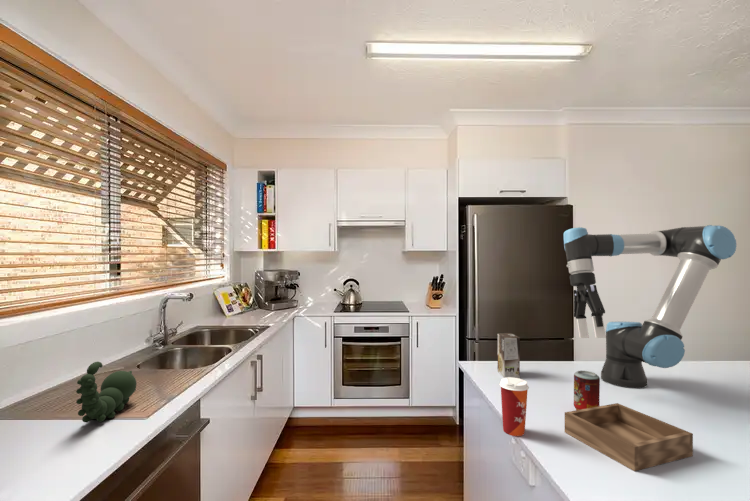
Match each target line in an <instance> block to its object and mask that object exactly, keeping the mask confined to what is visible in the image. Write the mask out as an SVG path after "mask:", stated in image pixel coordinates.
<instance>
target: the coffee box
mask: <svg viewBox="0 0 750 501" xmlns="http://www.w3.org/2000/svg"><path fill="white" fill-rule="evenodd" d="M520 351H521V337H520V336H518V335H516V334H514V333H512V332H504V333H503V332H502V333H501V332H499V333H497V372H498V373H499V374H500V376H501V377H503V378H507V377H513V378H519V379H521V378H520V374H521V373H520V371H521V370H520V369H521V368H520V366H521V365H520V364H521V363H520V362H521V361H520V359H521V358H520V357H521V352H520Z"/></svg>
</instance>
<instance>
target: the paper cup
mask: <svg viewBox="0 0 750 501" xmlns="http://www.w3.org/2000/svg"><path fill="white" fill-rule="evenodd" d="M499 386H500V398H501V413H502V414H501V416H502V418H501V419H502V430H503V432H504V433H505V434H507V435H509V436H512V437H522V436H524V435H525V432H526V418H527V404H528V403H527V402H528V390H529V389H530V387H529V385H528V381H526V380H524V379H522V378H513V377H507V378H504V377H503V378H501V379H500V382H499Z"/></svg>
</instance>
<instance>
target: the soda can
mask: <svg viewBox="0 0 750 501" xmlns="http://www.w3.org/2000/svg"><path fill="white" fill-rule="evenodd" d="M600 380H601V376H599V375H598V374H597V373H596V372H593V371H589V370H578V371H576V372H574V374H573V407H574V408H575V410H581V409H587V408H593V407H598V406H601V405H600V400H601V399H600V388H601V387H600V386H601V385H600V382H601V381H600Z"/></svg>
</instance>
